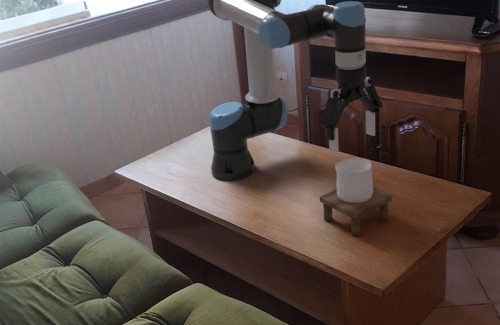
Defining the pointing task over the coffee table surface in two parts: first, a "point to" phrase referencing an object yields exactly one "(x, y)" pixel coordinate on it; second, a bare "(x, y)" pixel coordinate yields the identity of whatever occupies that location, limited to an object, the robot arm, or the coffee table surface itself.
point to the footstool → (356, 208)
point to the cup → (354, 180)
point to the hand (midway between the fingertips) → (352, 142)
